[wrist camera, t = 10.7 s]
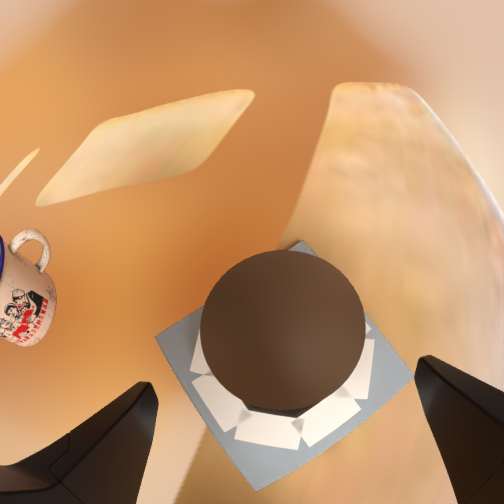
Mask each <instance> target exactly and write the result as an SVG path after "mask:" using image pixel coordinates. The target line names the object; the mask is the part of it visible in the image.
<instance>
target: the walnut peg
mask: <svg viewBox="0 0 504 504" xmlns="http://www.w3.org/2000/svg"><path fill="white" fill-rule="evenodd" d="M365 335H366V323H365V315H364V311H363V307H362V304H361V301H360V299H359V296H358V294H357V292H356V291H355V289H354V287H353V286H352V284H351V283H350V282H349V280H348V279H347V278H346V277H345V276H344V275H343V274H342V273H341V272H340V271H339V270H338V269H337V268H335V267H334V266H333V265H331V264H330V263H328V262H326V261H325V260H323V259H321V258H319V257H316V256H314V255H311V254H308V253H304V252H299V251H291V250H276V251H270V252H264V253H261V254H257V255H254V256H252V257H250V258H247V259H245V260H243V261H242V262H240V263H238V264H237V265H235V266H234V267H232V268H231V269H230V270H229V271H227V272H226V273H225V274H224V275H223V276H222V277H221V278H220V280H219V281H218V282H217V283H216V284H215V286H214V287H213V289H212V291H211V292H210V294H209V296H208V298H207V300H206V302H205V305H204V308H203V311H202V316H201V322H200V340H201V346H202V351H203V354H204V357H205V360H206V362H207V365H208V366H209V368H210V370H211V372H212V373H213V375H214V376H215V378H216V379H217V380H218V382H219V383H220V384H221V385H222V386H223V387H224V388H225V389H226V390H228V391H229V392H230V393H231V394H233V395H234V396H235V397H237V398H239V399H241V400H242V401H244V402H246V403H249V404H251V405H254V406H257V407H261V408H265V409H271V410H293V409H299V408H303V407H306V406H310V405H313V404H315V403H317V402H319V401H321V400H323V399H325V398H327V397H328V396H330V395H331V394H333V393H334V392H335V391H336V390H337V389H339V388H340V387H341V386H342V385H343V384H344V383H345V382H346V380H347V379H348V378H349V377H350V375H351V374H352V372H353V371H354V369H355V368H356V366H357V364H358V362H359V360H360V357H361V354H362V351H363V348H364V342H365Z"/></svg>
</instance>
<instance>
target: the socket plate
mask: <svg viewBox="0 0 504 504" xmlns="http://www.w3.org/2000/svg"><path fill="white" fill-rule="evenodd" d="M289 250H291V251H299V252H304V253H308V254H311V255H314V256H316V257H317V255H316V254H315V253H314V252H313V251H312V250H311V248H310V247H309V246H308V245H307V244H306V243H305V242H304V241H303V240H302V241H301V242H299V243H298V244H296V245H295V246H293V247H292V248H290V249H289ZM203 308H204V306H202V307H200V308H199V309H197V310H196V311H194V312H193V313H191V314H190V315H188V316H186V317H185V318H183V319H182V320H180V321H179V322H177V323H175V324H174V325H172V326H171V327H169V328H168V329H166V330H164V331H163V332H161V333H160V334H158V335H157V336H155V338H156V340H157V342H158V344H159V346H160V348H161V350H162V352H163V354H164V355H165V357H166V359H167V361H168V363H169V364H170V366H171V368H172V370H173V371H174V373H175V375H176V376H177V378H178V380H179V382H180V383H181V385H182V387H183V388H184V390H185V392H186V393H187V395H188V397H189V398H190V400H191V402H192V403H193V405H194V406H195V408H196V410H197V411H198V413H199V414H200V416H201V417H202V419H203V420H204V422H205V423H206V425H207V426H208V428H209V429H210V431H211V432H212V434H213V435H214V437H215V438H216V440H217V441H218V442H219V444H220V445H221V447H222V448H223V450H224V451H225V452H226V454H227V455H228V456H229V458H230V459H231V461H232V462H233V463H234V465H235V466H236V467H237V469H238V470H239V471H240V472H241V474H242V475H243V476H244V478H245V479H246V480H247V481H248V483H249V484H250V485H251V486H252V488H253V489H254V490H255V491H258V490H260V489H262V488H264V487H266V486H268V485H269V484H271V483H273V482H275V481H277V480H278V479H280V478H282V477H284V476H285V475H287V474H289V473H291V472H292V471H294V470H296V469H297V468H299V467H300V466H302V465H304V464H305V463H307V462H308V461H310V460H311V459H313V458H315V457H316V456H318V455H319V454H321V453H322V452H323V451H325V450H326V449H328V448H329V447H331V446H332V445H334V444H335V443H336V442H338V441H339V440H340V439H342V438H343V437H345V436H346V435H347V434H349V433H350V432H351V431H353V430H354V429H355V428H356V427H358V426H359V425H360V424H361V423H363V422H364V421H365V420H366V419H368V418H369V417H370V416H371V415H373V414H374V413H375V412H376V411H377V410H378V409H380V408H381V407H382V406H383V405H384V404H385V403H387V402H388V401H389V400H390V399H391V398H392V397H393V396H394V395H395V394H397V393H398V392H399V391H400V390H401V389H402V388H403V387H404V386H405V385H406V384H407V383H408V382H409V381H410V380H411V379H412V378H413V377H414V374H413V373H412V372H411V370H410V369H409V368H408V367H407V365H406V364H405V363H404V361H403V360H402V359H401V357H400V356H399V355H398V354H397V352H396V351H395V350H394V349H393V347H392V346H391V345H390V343H389V342H388V341H387V340H386V338H385V337H384V336H383V335H382V333H381V332H380V331H379V330H378V328H377V327H376V326H375V325H374V323H373V322H372V321H371V320H370V318H369V317H368V316H367V315H366V314H365V312H364V315H365V323H366V335H365V342H364V348H363V351H362V354H361V357H360V360H359V362H358V364H357V366H356V368H355V369H354V371H353V372H352V374H351V375H350V377H349V378H348V379H347V380H346V382H345V383H344V384H343V385H342V386H341V387H340V388H339V389H337V390H336V391H335V392H334V393H333V394H331V395H330V396H328V397H327V398H325V399H323V400H321V401H319V402H317V403H315V404H313V405H310V406H306V407H303V408H299V409H293V410H271V409H265V408H261V407H257V406H254V405H251V404H249V403H246V402H244V401H242V400H241V399H239V398H237V397H235V396H234V395H233V394H231V393H230V392H229V391H228V390H226V389H225V388H224V387H223V386H222V385H221V384H220V383H219V382H218V380H217V379H216V378H215V376H214V375H213V373H212V372H211V370H210V368H209V366H208V365H207V362H206V360H205V357H204V354H203V351H202V346H201V340H200V322H201V316H202V311H203Z"/></svg>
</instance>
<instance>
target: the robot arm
mask: <svg viewBox="0 0 504 504" xmlns="http://www.w3.org/2000/svg"><path fill="white" fill-rule="evenodd" d="M414 379H415V384H416V387H417V390H418V393H419V396H420V400H421V403H422V406H423V410H424V413H425V416H426V419H427V421H428V424H429V426H430V428H431V431H432V433H433V436H434V438H435V441H436V443H437V446H438V448H439V451H440V454H441V456H442V459H443V462H444V464H445V467H446V470H447V473H448V475H449V478H450V481H451V484H452V487H453V490H454V493H455V496H456V499H457V502H458V504H504V392H503V391H501V390H499V389H497V388H495V387H493V386H491V385H489V384H487V383H485V382H483V381H481V380H479V379H477V378H475V377H473V376H471V375H469V374H467V373H465V372H463V371H461V370H459V369H457V368H455V367H453V366H451V365H450V364H448V363H446V362H444V361H442V360H440V359H438V358H436V357H434V356H432V355H426V356H422V357H420V358H419V360H418V363H417V367H416V371H415V376H414ZM157 410H158V398H157V396H156V393H155V391H154V388H153V386H152V384H151V383H150V382H138V383H136V384H135V385H134V386H132V387H131V388H130V389H128V390H127V391H126V392H124V393H123V394H122V395H120V396H119V397H118V398H116V399H115V400H114V401H112V402H111V403H109V404H108V405H107V406H105V407H104V408H102V409H101V410H100V411H98V412H97V413H95V414H94V415H93V416H91V417H90V418H89V419H87V420H86V421H84V422H83V423H81V424H80V425H79V426H77V427H76V428H75V429H73V430H71V431H70V433H67V434H66V435H64V436H63V437H62V438H60V439H58V440H57V441H55V442H54V443H52V444H51V445H49V446H47V447H45V448H44V449H42V450H40V451H38V452H36V453H35V454H33V455H31V456H29V457H27V458H25V459H23V460H21V461H19V462H17V463H15V464H12V465H6V466H0V504H136V501H137V496H138V493H139V489H140V485H141V481H142V478H143V474H144V470H145V467H146V463H147V459H148V456H149V452H150V449H151V445H152V441H153V436H154V429H155V423H156V416H157Z"/></svg>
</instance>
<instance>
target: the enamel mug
mask: <svg viewBox="0 0 504 504" xmlns="http://www.w3.org/2000/svg"><path fill="white" fill-rule="evenodd" d="M29 240H37V241H39V242H40V243H41V244H42V246H43V252H42V256H41V258H40V260H39V261H38V263H37V264H36V265H35V264H33V263H32V262H30V261H29V260H28V259H26V258H25V257H24V256H22V255H21V254H19V253H18V252H17V250H18V249H19V248H20V247H21V245H23V244H24V243H25V242H27V241H29ZM50 256H51V251H50V246H49V243H48V241H47V239H46V237H45V236H44V235H43V234H42V233H41V232H40V231H38V230H36V229H27V230H24V231H22V232H20V233H19V234H18V235H16V237H15V238H14V239H13V240H12V241H11V243H10V244H9V245H8V244H7V243H5V242H4V241H3V239H2V237H1V236H0V338H3V339H5V340H8V341H10V342H13V343H16V344H18V345H21V346H31V345H34V344H36V343H37V342H39V341H40V340H41V339H42V338H43V337H44V336H45V334H46V333H47V331H48V330H49V328H50V326H51V323H52V321H53V318H54V314H55V310H56V290H55V286H54V283H53V281H52V279H51V277H50V276H49V275H48V274H47V273H46V272H44V270H45V268H46V267H47V265H48V263H49V261H50Z"/></svg>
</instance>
